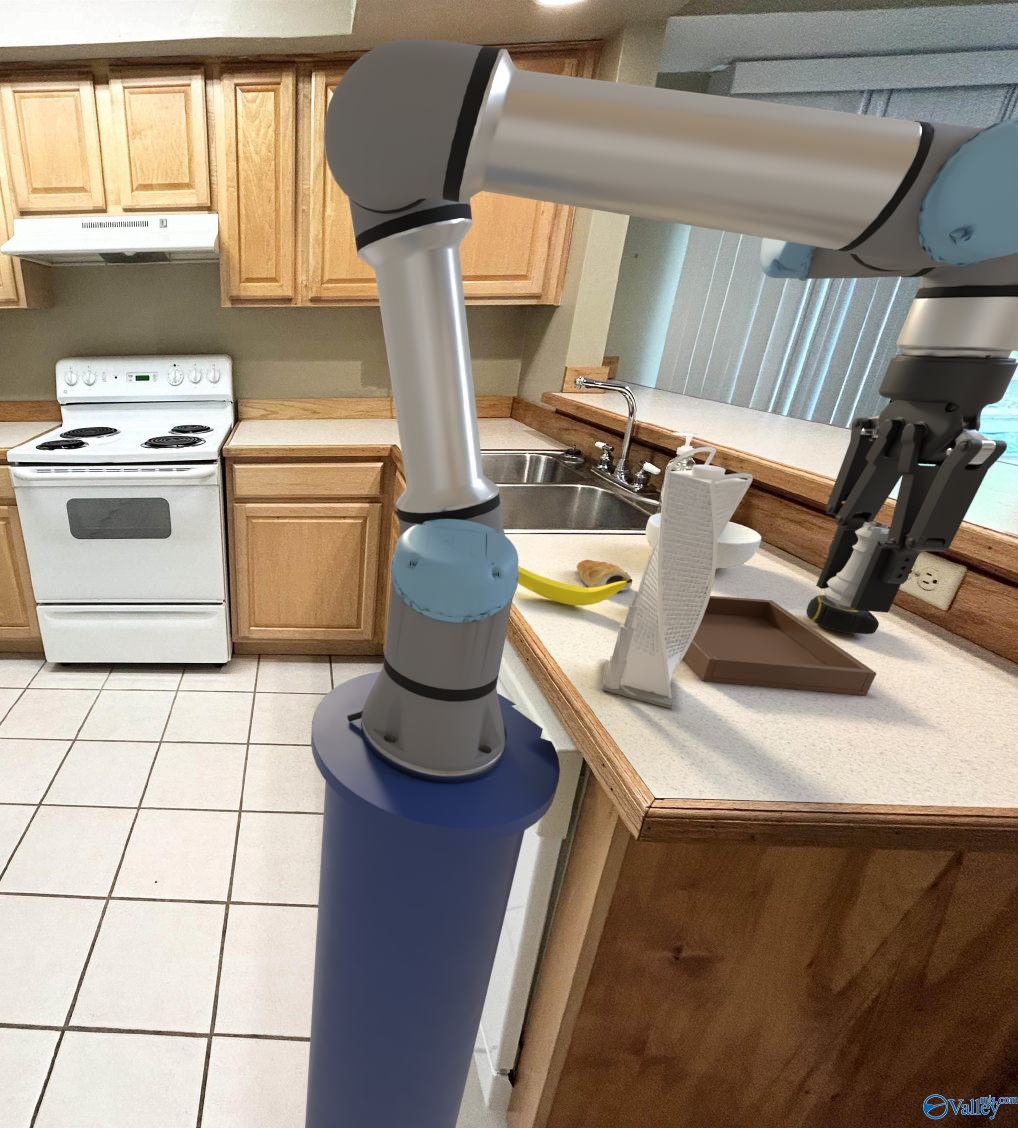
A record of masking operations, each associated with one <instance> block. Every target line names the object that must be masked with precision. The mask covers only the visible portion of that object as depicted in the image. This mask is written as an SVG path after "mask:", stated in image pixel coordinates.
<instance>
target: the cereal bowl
mask: <svg viewBox="0 0 1018 1128" xmlns="http://www.w3.org/2000/svg"><path fill="white" fill-rule="evenodd" d="M660 516H661V512H659V513H654V514H652V515H651V516H649V518H648V520H647V523H646V527H645V539H646V541H647V543H648V545H649V546H650V548H652V549H653V548H654V545H655V543H656V541H657V539H658V537H659V527H660ZM761 542H762V536H761V534H760V533H758V532H757V531H756V530H754V529H752V528H750V527H748V526H744V525H742V524H739V523H736V522H732V521H729V522H728V524H727V525H726V527H725V529H724V530H723V532H722V534H721V535H720V537H719V538H718V540H717V561H716V570H718V569H728V568H729V569H730V568H735V567H739V566H741V565H744V564H745V563H747V562H748V561H750V560H751V559H752V558H753V557H754V556H755V554H756V553H757V551H758V549H759V547H760V545H761Z"/></svg>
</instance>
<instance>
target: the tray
mask: <svg viewBox="0 0 1018 1128" xmlns="http://www.w3.org/2000/svg"><path fill="white" fill-rule="evenodd" d="M682 661H684V663H685V664H687V666H688V667H689V668H690V669H691V670H692V671H693V673H694V674H696V675H697V677H698V678H699V679H700V680H701V681H702V682H711V683H712V682H713V683H722V684H723V683H724V684H736V685H746V686H756V687H768V688H778V689H779V688H781V689H790V690H800V691H801V690H802V691H810V692H811V691H813V692H823V693H833V694H834V693H835V694H845V695H846V694H847V695H857V696H867V695H868V693H869V691H870V689H871V687H872V684H873V682H874V680H875V679H876V676H877V672H876V671H874V670H873V669H872V668H870V667H869V666H868V665H866V664H864V663H863V662H861V661H860V660H859V659H858V658H856V657H854V656H853V655H852V654H850V653H849V652H847V651H846V650H844V649H843V648H842V647H840V646H838V645H837V644H836V643H834V642H833V641H831V640H830V639H829V638H827V637H825V636H824V635H823V634H822V633H820V632H818V631H817V630H816V629H814V628H812V626H810V625H808V624H807V623H806V622H804V621H802V620H801V619H800V618H798V617H797V616H795V615H794V614H793V613H791V612H790V611H788V610H787V609H785V608H784V607H783V606H781V605H780V604H778V603H777V602H775V601H774V600H772V599H760V598H748V597H735V596H734V597H731V596H720V595H719V596H718V595H710V598H709V601H708V604H707V607H706V610H705V613H704V616H703V618H702V620H701V623H700V625H699V628H698V630H697V632H696V634H695V636H694V638H693V640H692V642H691V644H690V646H689V648H688V649H687V651H686V653H685V655H684V657H683V658H682Z"/></svg>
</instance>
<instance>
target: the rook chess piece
mask: <svg viewBox="0 0 1018 1128" xmlns="http://www.w3.org/2000/svg"><path fill="white" fill-rule="evenodd" d="M876 522H877V521H875V522H869V523H867V522H865V523H864V524H863V527H862V528H860V529H858V530H857V531H855V533H856V535H857V537H858V542H857V544H856V545H854V546H852V547H853V549H854V550H853V553H852V555H851V557H850V559H849V561H848V562H847V564H846V565H845V567H844V568H843V569H842V571H841V572H838V573H837V576H835V577H832V578H831V579H829V581H828V582H827V584H828V586H829V587H828V588H825V589H822V591H823V595H825V596H826V598H828V599H829V600H831V601H833V602H835V603H838V604H841V605H844V606H848V607H850V606H851V604H852V601H853V599H854V597H855V594H856V592H857V590H858V587H859V585H860V583H861V580H862V578H863V576H864V573H865V571H866V569H867V566H868V564H869V562H870V559H871V557H872V555H873V552H874V550H875V548H876V545H878V544H877V542H878V541H881V542H887V539H888V535H889V531H890V528H889V526H890V524H888V523H884V522H882V523H881V525H880V526H878V527H875V526H876V524H877V523H878V522H877V523H876Z"/></svg>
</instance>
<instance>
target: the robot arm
mask: <svg viewBox="0 0 1018 1128" xmlns="http://www.w3.org/2000/svg"><path fill="white" fill-rule="evenodd" d="M323 129H324V130H323V144H324V145H323V146H324V155H325V158H326V163H327V166H328V169H329V171H330V173H331V176H332V178H333V180H334V181H335V183H336V184H337V186H338V187H339V188H340V190H341V191H342V192H343V194H345V196H347V199H348V204H349V211H350V216H351V223H352V229H353V230H352V231H353V235H354V241H355V248H356V254H357V258H359V259H360V260H361V261H363V262H364V263H366V265H368V266H370V267H371V268H372V270H373V271H374V275H375V282H376V288H377V296H378V301H379V302H378V303H379V309H380V315H381V322H382V328H383V329H382V330H383V335H384V342H385V349H386V350H385V351H386V356H387V362H388V369H389V376H390V382H391V383H390V384H391V390H392V396H393V397H392V398H393V403H394V409H395V410H394V411H395V416H396V424H397V431H398V439H399V442H400V443H399V445H400V451H401V455H402V456H401V458H402V464H403V470H404V471H403V472H404V477H405V484H406V488H405V489H404V491H403V492H402V494H401V495H400V496H399V497H398V499H397V500H396V502H395V504H396V505H395V506H396V511H397V518H398V526H399V532H400V536H399V538H398V540H397V542H396V545H395V549H394V552H393V555H392V557H391V561H390V577H391V583H390V593H389V604H388V613H387V614H388V615H387V623H386V633H385V642H384V643H385V644H384V655H383V663H382V668H381V670H380V671H381V672H380V671H379V672H380V674H379V676H378V678H377V680H376V682H375V684H374V686H373V688H372V690H371V692H370V694H369V696H368V698H367V700H366V702H365V704H364V707H363V710H362V711H361V712H358V713H354V714H351V715H348V716H347V718H348V721H349V722H350V721H354V720H357V719H360V718H361V733H362V737H363V739H364V741H365V743H366V745H367V747H368V748H369V749H370V751H371V752H372V753H373V754H374V755H375V756H376V757H377V758H378V759H380V760H381V761H382V762H383V763H385V764H386V765H388V766H389V767H391V768H393V769H394V770H396V771H398V772H400V773H403V774H405V775H407V776H410V777H413V778H416V779H419V780H423V781H428V782H434V783H443V784H458V783H467V782H471V781H475V780H478V779H481V778H483V777H485V776H487V775H488V774H490V773H491V772H493V771H494V770H495V769H496V768H497V767H498V765H499V764H500V762H501V760H502V756H503V751H504V746H505V735H506V742H507V733H506V726H505V720H504V724H503V719H502V714H501V709H500V704H499V699H498V694H499V693H498V689H497V686H498V681H499V680H498V679H499V674H500V670H501V666H502V660H503V659H502V658H503V653H504V648H505V642H506V637H507V632H508V625H509V619H510V616H511V610H512V603H513V599H514V596H515V593H516V592H517V589H518V585H519V583H518V580H519V571H518V566H519V554H518V551H517V548H516V546H515V545H514V544H513V542H512V541H511V540H510V539H509V538H508V537H507V536H506V533H505V530H504V525H503V524H504V523H503V514H502V505H501V497H500V487H499V486H498V485H497V484H496V483H495V482H493V481H491V480H490V479H489V478H487V476H485V475H484V469H483V460H482V459H483V458H482V452H481V442H480V433H479V432H480V431H479V423H478V413H477V405H476V395H475V386H474V385H475V384H474V378H473V375H474V374H473V367H472V358H471V349H470V339H469V329H468V320H467V311H466V301H465V293H464V283H463V275H462V265H461V255H460V246H461V244H462V242H463V240H464V239H465V238H466V236H467V234H468V233H469V231H470V230H471V228H472V226H473V216H472V215H473V214H472V204H471V199H472V198H473V197H474V196H475V195H478V194H479V193H482V192H486V193H492V194H497V195H504V196H511V197H515V198H522V199H526V200H527V199H530V200H535V201H539V202H544V203H545V202H546V203H551V204H558V205H564V206H570V207H577V208H582V209H587V210H588V209H589V210H594V211H601V212H607V213H613V214H618V215H619V214H620V215H625V216H630V217H637V218H642V219H647V220H654V221H660V222H666V223H673V224H679V225H684V226H691V227H697V228H703V229H709V230H713V231H714V230H715V231H720V232H727V233H733V234H738V235H745V236H751V237H757V238H762V241H761V244H760V250H759V251H760V252H759V264H760V268H761V271H762V273H764V275H765V276H767V277H769V278H772V279H791V280H792V279H793V280H795V279H797V280H799V281H801V282H805V281H807V280H812V279H813V280H819V279H820V280H821V279H822V280H823V279H826V280H827V279H829V280H830V279H869V278H870V279H872V278H897V277H899V278H919V277H920V278H921V279H920V283H919V285H918V288H917V291H916V293H915V296H914V299H913V301H912V304H911V305H910V309H909V311H908V314H907V316H906V317H905V318H906V319H905V321H904V323H903V326H902V327H901V330H900V333H899V335H898V338H897V340H896V342H895V345H896V346H897V347H898V348H900V349H902V348H903V350H902V354H896V355H895V356H894V357H893V358H892V357H891V358H890V361H889V363H888V366H887V369H886V371H885V374H884V375H883V378H882V381H881V384H880V386H879V388H878V394H879V395H880V397H882V398H885V399H889V401H888V403H887V404H886V406H884V408H883V409H882V410H881V412H879V415H876V416H873V417H862V416H861V417H856V418H854V419H853V421H852V423H851V431H850V440H849V444H848V447H847V449H846V452H845V455H844V457H843V460H842V462H841V466H840V467H839V470H838V473H837V477H836V479H835V482H834V484H833V487H832V490H831V492H830V495H829V498H828V501H827V503H826V506H825V513H826V514H827V515H832V516H834V517H835V520H834V523H835V524H836V525H837V527H836V530H835V532H834V535H833V537H832V540H831V543H830V544H829V547H828V554H827V557H826V560H825V563H824V565H823V567H822V570H821V573H820V574H819V577H818V580H817V583H816V586H815V587H818V588H819V589H821V590H824V589H825V588H828V587H829V586H828V584H827V582H828V581H829V579H831V578H832V577H835V576H837V573H838V572H841V571H842V569H843V568H844V567H845V565H846V564H847V562H848V561H849V559H850V557H851V555H852V553H853V550H854V549H853V547H852V546H854V545H856V544H857V542H858V537H857V535H856V533H855V531H857V530H858V529H860V528H862V527H863V524H864V523H865V522H867V523H869V522H876V523H877V524H876V526H875V527H880V524H879V523H878V522H877V521H876V520H875V518H876V517H877V515H878V513H880V511H881V509H882V508H883V506H884V505H885V503H886V501H887V500H888V498H889V497H890V495H891V493H892V492H893V490H894V489H895V487H896V485H897V484H898V482H899V481H900V484H899V488H898V493H897V497H896V501H895V506H894V509H893V514H892V517H891V523H890V528H889V529H890V531H889V535H888V539H887V542H881V541H878V542H877V544H878V545H876V548H875V550H874V552H873V555H872V557H871V559H870V562H869V564H868V566H867V569H866V571H865V573H864V576H863V578H862V580H861V583H860V585H859V587H858V590H857V592H856V594H855V597H854V599H853V601H852V604H851V606H850V607H851V608H853V609H855V610H861V611H869V612H875V613H889V612H890V610H891V608H892V605H893V603H894V601H895V598H896V596H897V594H898V592H899V590H900V588H901V585H904V584H905V583H906V582H907V581H908V579H909V577H910V574H911V572H912V570H913V568H914V566H915V563H916V561H917V559H918V557H919V555H920V554H921V553H923V552H946V551H948V550H949V549H950V547H951V545H952V543H953V541H954V539H955V537H956V536H957V533H958V531H959V529H960V526H961V525H962V523H963V521H964V519H965V517H966V515H967V513H968V511H969V509H970V507H971V505H972V503H973V501H974V499H975V497H976V495H977V493H978V491H979V489H980V487H981V486H982V483H983V481H984V479H985V477H986V476H987V473H988V471H989V469H990V468H992V466H993V465H994V464H995V463H996V462H997V461H998V460H999V459H1000V458H1001V457H1002V456H1003V454H1005V453H1006V451H1007V448H1008V443H1007V442H1006V441H1005V440H1002V439H1001V440H1000V439H999V440H998V439H996V440H995V439H988V438H987V437H986V436H985V435H983V434H982V433H980V432H979V430H980V429H981V417H982V412H983V410H984V409H985V407H987V406H988V405H993V404H997V403H999V402H1001V400H1002V399H1003V398H1004V396H1005V393H1006V392H1007V390H1008V388H1009V385H1010V383H1011V382H1012V379H1013V378H1014V375H1015V373H1016V370H1017V368H1018V362H1017V360H1018V359H1017V358H1015V357H1010V356H1011V354H1012V352H1014V351H1018V117H1016V118H1008V119H1004V120H1002V121H998V122H996V123H995V122H994V123H993V124H990V125H989V126H987V127H973V126H968V125H967V126H966V125H957V124H950V123H942V122H931V121H921V120H908V119H902V118H900V119H899V118H892V117H886V116H877V115H870V114H863V113H855V112H846V111H839V110H831V109H823V108H817V107H809V106H800V105H795V104H794V105H793V104H785V103H777V102H770V101H762V100H756V99H755V100H754V99H747V98H740V97H733V96H725V95H716V94H708V93H700V92H694V91H693V92H692V91H685V90H678V89H669V88H662V87H655V86H647V85H640V84H631V83H623V82H615V81H607V80H602V79H601V80H599V79H593V78H585V77H578V76H569V75H562V74H555V73H554V74H553V73H548V72H540V71H539V72H538V71H533V70H524V69H519V68H518V67H516V65H515V64H514V62H513V60H512V58H511V56H510V53H509V52H508V49H507V48H502V47H493V46H485V45H478V44H477V45H476V44H468V43H460V42H453V41H445V40H435V39H418V38H417V39H416V38H415V39H413V38H407V39H397V40H393V41H389V42H386V43H383V44H381V45H379V46H376V47H374V48H372V49H371V50H369V51H367V52H365V53H364V54H362V56H361V57H359V59H357V60H356V61H355V62H354V63H353V64H352V65H351V66H350V67H349V68H348V70H347V71H346V72H345V73H344V75H343V76H342V77H341V78H340V80H339V82H338V83H337V85H336V87H335V89H334V90H333V93H332V96H331V98H330V101H329V103H328V106H327V111H326V114H325V119H324V128H323ZM900 479H901V480H900ZM497 693H498V694H497Z"/></svg>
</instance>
